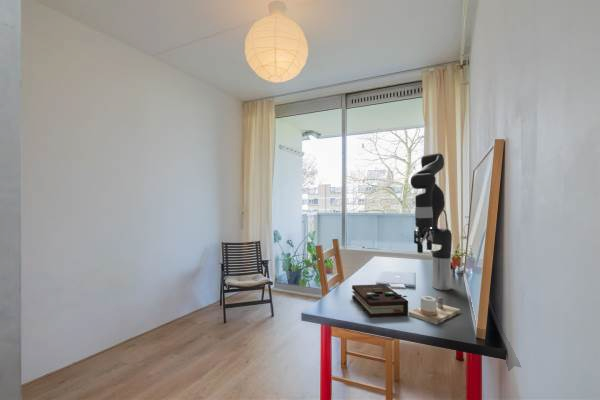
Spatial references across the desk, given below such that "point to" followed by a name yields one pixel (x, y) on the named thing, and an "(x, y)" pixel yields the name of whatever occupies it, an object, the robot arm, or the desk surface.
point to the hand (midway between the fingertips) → (424, 251)
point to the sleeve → (428, 305)
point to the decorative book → (380, 301)
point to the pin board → (442, 313)
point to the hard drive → (397, 286)
